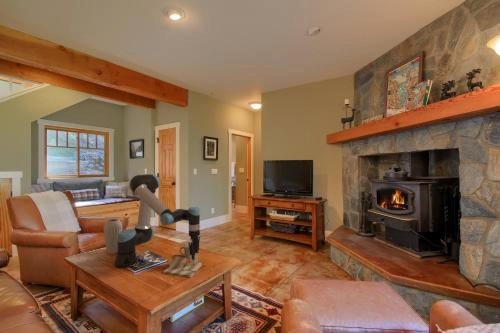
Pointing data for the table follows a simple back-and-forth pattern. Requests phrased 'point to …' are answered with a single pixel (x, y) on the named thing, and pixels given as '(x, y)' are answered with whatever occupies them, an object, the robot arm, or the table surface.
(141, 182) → the robot arm
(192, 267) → the plank
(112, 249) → the vase
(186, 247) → the mug
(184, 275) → the laid row
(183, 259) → the plank
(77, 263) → the table surface
